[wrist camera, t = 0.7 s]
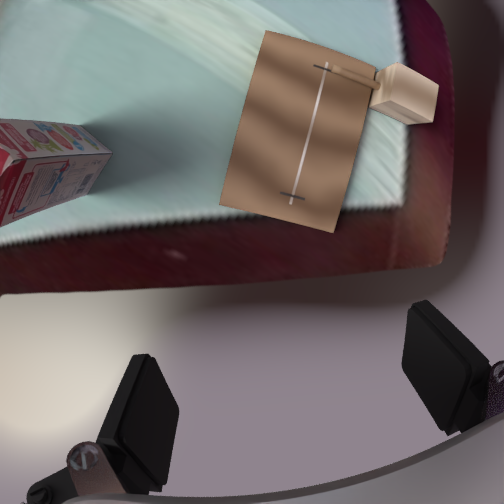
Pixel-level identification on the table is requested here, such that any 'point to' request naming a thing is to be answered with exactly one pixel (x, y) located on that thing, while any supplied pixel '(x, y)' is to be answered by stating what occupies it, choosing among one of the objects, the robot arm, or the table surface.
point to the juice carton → (45, 165)
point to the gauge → (398, 93)
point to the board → (297, 133)
